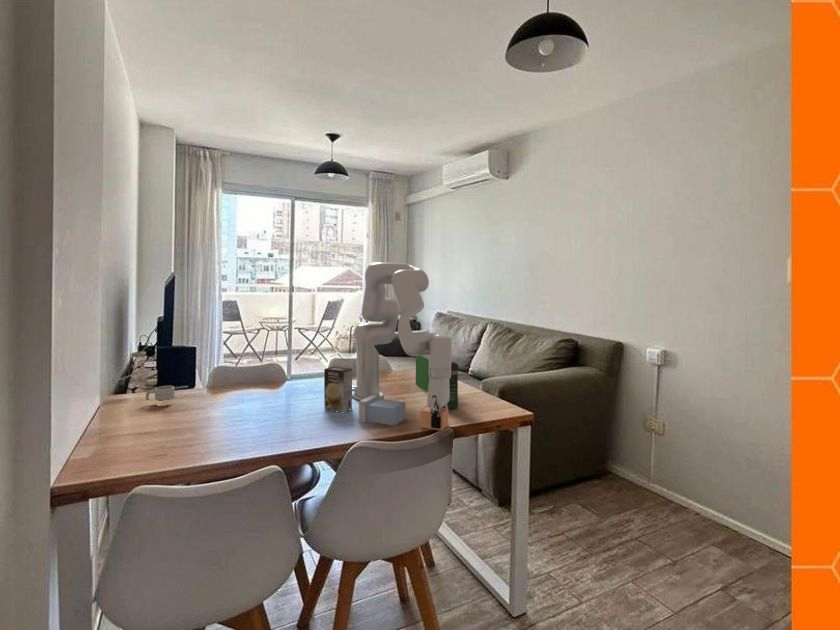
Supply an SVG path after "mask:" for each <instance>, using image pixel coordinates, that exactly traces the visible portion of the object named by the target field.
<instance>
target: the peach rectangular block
mask: <svg viewBox="0 0 840 630" xmlns="http://www.w3.org/2000/svg"><path fill="white" fill-rule="evenodd" d="M435 410H436V411H437V412H438V409H435ZM419 412H420V413H419V421H420V422H419V427H420V428H421V429H428V430H435V431H441V430H442V429H444V428H445V429H446V428H447V427H448V426H449V410H448V408H441V409H440V417H441V428H440V429H438V428H432V427H431V411H430V407H428V406H427V405H426V406H425V407H423V408H422V409H420V411H419ZM445 429H444V430H445Z"/></svg>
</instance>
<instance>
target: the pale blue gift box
mask: <svg viewBox="0 0 840 630" xmlns="http://www.w3.org/2000/svg"><path fill="white" fill-rule="evenodd" d="M406 404H407V403H406V401H399V400H395V399H394V400H392V399H383V398H381V399H379V395H377V394H373V395H371V396H369V397H367V398H365V399H363V400H358V422H359V421H360V423H366V421H367V423H372V422H373V424H379V423H380V424H381V425H386V424H387V425H388V426H393V425H394V427H395V426H396V425H398V424H399V422H400V423H401V422H403V421H404V420H405V419H406V411H407V410H406V409H407V408H406ZM403 419H404V420H403ZM387 425H386V426H387Z"/></svg>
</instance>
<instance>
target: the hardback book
mask: <svg viewBox="0 0 840 630" xmlns="http://www.w3.org/2000/svg"><path fill="white" fill-rule="evenodd" d="M429 379H430V378H429V355H420V356H415V386H416V385H417V386H416V387H418V388H419V387H420V388H419V389H421V390H423V391H424V392H426V393H427V392H428V386H429Z"/></svg>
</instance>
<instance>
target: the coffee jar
mask: <svg viewBox="0 0 840 630" xmlns="http://www.w3.org/2000/svg"><path fill="white" fill-rule="evenodd" d="M459 371H460V370H459V364H458V363H457V362H454V361H452V360H451V378H449V385H450V397H449V402H448V404H447V407H448V411H450V410H451V411H452V410H454V409H457V408H458V407H459V389H458V387H459V381H458V380H459ZM435 407H438V405H436V406H435Z"/></svg>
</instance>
